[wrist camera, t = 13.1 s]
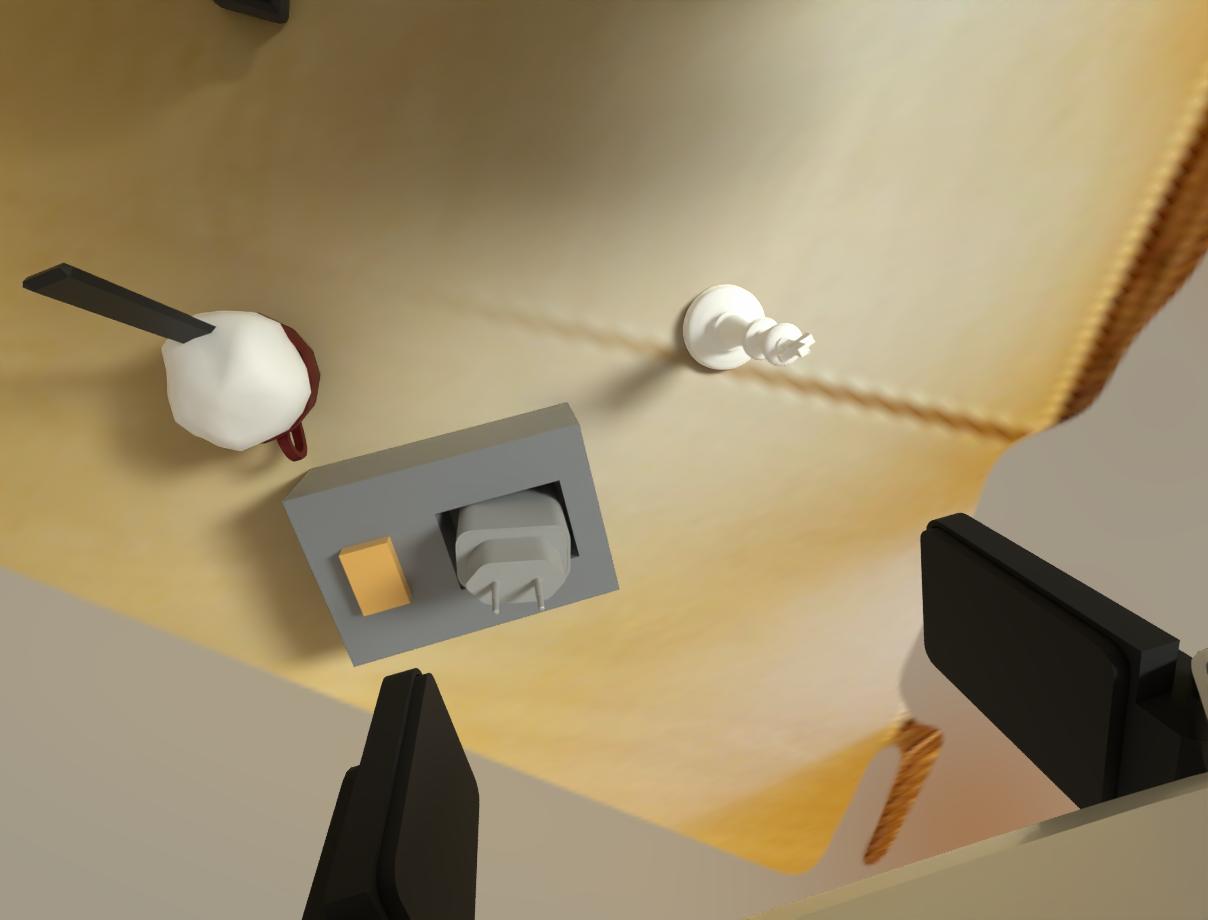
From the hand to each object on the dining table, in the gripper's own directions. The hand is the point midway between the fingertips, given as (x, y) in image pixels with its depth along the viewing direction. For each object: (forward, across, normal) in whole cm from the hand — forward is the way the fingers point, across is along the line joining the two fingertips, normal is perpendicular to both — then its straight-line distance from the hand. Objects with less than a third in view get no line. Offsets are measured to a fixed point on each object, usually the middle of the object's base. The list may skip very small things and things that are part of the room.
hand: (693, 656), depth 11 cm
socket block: (+26, +8, +7) cm, 28 cm away
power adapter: (+25, +5, +6) cm, 26 cm away
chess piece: (+26, -10, 0) cm, 28 cm away
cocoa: (+26, +15, -5) cm, 30 cm away
